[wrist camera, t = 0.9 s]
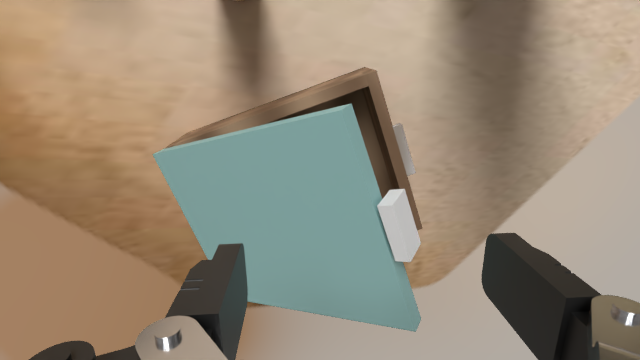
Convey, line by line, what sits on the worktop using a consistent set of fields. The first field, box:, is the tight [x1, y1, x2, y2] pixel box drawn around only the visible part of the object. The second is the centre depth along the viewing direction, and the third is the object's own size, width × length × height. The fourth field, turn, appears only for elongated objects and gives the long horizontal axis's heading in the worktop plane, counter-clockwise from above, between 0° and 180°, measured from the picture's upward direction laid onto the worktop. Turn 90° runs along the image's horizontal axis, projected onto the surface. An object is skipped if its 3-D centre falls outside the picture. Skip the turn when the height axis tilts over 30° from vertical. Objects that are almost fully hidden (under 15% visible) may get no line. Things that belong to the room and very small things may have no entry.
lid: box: [153, 103, 421, 331], centre depth 29 cm, size 21×16×2 cm
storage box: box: [164, 67, 422, 230], centre depth 38 cm, size 21×16×7 cm
